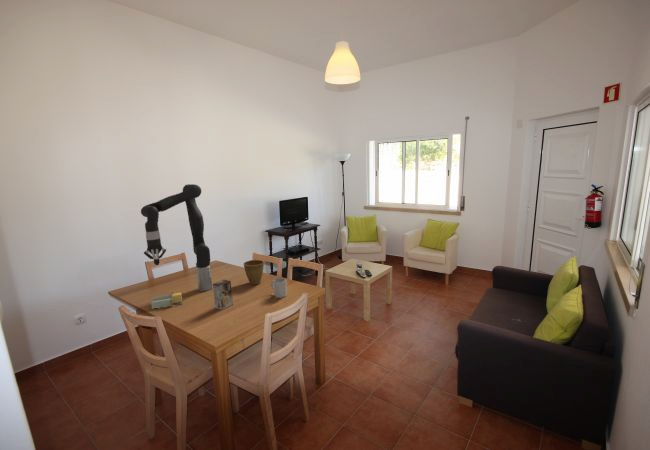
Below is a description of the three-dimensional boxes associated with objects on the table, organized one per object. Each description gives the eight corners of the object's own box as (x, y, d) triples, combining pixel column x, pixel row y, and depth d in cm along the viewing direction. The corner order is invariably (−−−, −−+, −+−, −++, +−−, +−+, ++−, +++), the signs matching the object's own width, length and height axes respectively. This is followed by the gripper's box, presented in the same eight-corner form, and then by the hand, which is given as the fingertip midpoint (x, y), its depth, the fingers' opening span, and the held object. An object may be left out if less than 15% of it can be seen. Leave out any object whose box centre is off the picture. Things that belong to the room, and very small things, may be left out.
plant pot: (269, 281, 240) (268, 261, 236) (255, 288, 227) (253, 266, 224) (255, 278, 247) (253, 258, 244) (240, 284, 235) (239, 263, 232)
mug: (289, 294, 215) (288, 279, 213) (280, 298, 208) (280, 283, 206) (276, 290, 222) (275, 275, 220) (267, 294, 215) (267, 279, 213)
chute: (182, 298, 213) (181, 290, 212) (181, 305, 201) (180, 297, 200) (154, 302, 207) (153, 295, 206) (151, 310, 195) (150, 302, 194)
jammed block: (181, 298, 209) (181, 291, 208) (181, 301, 205) (180, 294, 204) (173, 300, 207) (172, 293, 206) (173, 303, 203) (172, 296, 202)
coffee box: (226, 302, 205) (224, 279, 201) (233, 304, 201) (231, 280, 198) (214, 308, 197) (212, 283, 194) (221, 310, 194) (219, 285, 190)
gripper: (165, 235, 200) (169, 261, 203) (142, 238, 195) (146, 264, 199) (164, 238, 193) (168, 265, 197) (140, 240, 188) (144, 268, 192)
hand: (157, 264), depth 198 cm, fingers closed
